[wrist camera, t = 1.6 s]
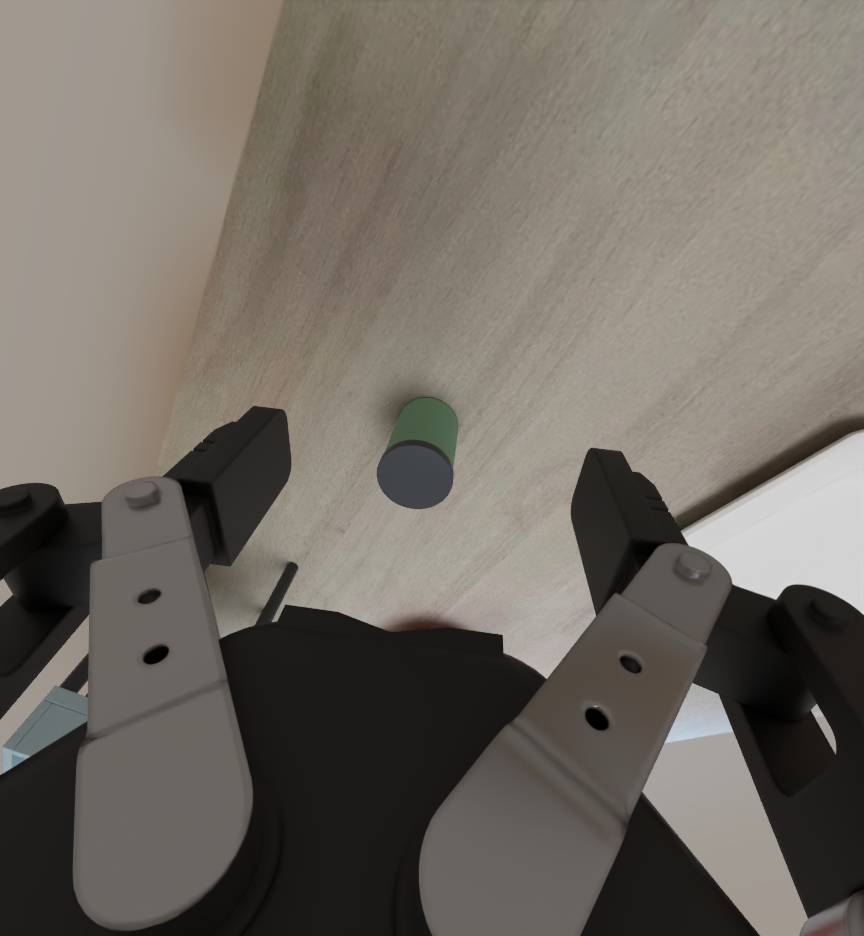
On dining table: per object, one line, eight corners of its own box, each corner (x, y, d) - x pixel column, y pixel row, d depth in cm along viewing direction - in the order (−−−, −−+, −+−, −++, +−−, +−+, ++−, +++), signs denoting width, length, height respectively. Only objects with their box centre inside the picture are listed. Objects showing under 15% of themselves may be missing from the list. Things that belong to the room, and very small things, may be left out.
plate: (603, 560, 43) (608, 577, 41) (899, 384, 31) (925, 396, 29) (744, 681, 50) (754, 700, 48) (1027, 573, 38) (1055, 593, 36)
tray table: (179, 577, 51) (2, 802, 32) (199, 518, 45) (1, 747, 27) (271, 616, 53) (154, 849, 34) (300, 565, 48) (181, 807, 29)
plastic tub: (386, 433, 38) (364, 487, 31) (415, 384, 35) (397, 431, 28) (439, 462, 39) (429, 520, 32) (471, 416, 36) (467, 469, 29)
